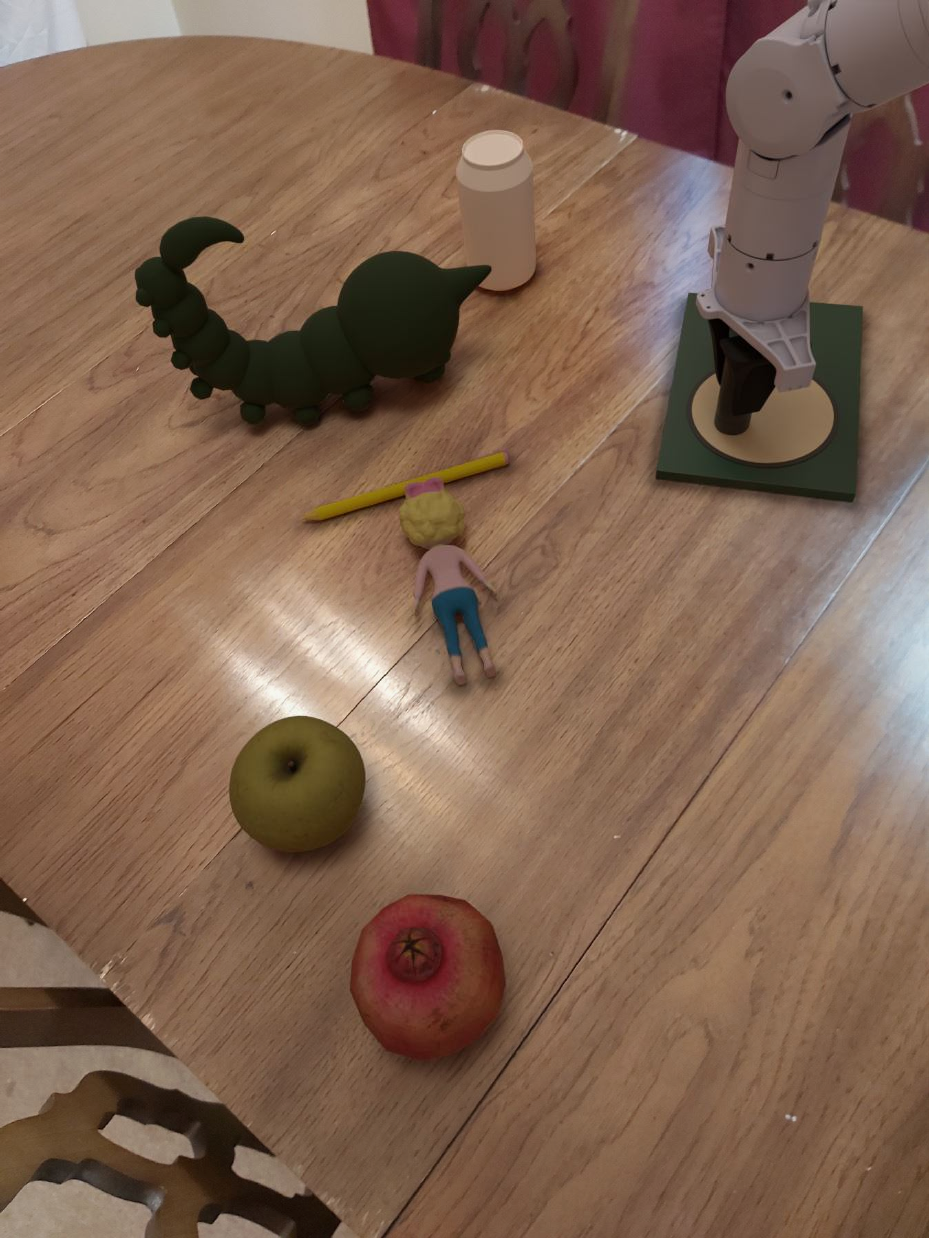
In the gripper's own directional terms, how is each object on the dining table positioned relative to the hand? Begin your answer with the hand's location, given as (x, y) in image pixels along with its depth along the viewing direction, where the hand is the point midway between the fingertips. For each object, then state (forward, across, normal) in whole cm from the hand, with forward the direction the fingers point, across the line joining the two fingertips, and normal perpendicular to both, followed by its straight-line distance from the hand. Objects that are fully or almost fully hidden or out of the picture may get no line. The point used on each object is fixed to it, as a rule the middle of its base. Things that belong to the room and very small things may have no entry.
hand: (738, 395), depth 68 cm
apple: (+4, +24, -34) cm, 42 cm away
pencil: (+4, 0, -25) cm, 26 cm away
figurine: (+4, +10, -23) cm, 26 cm away
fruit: (+4, +36, -28) cm, 46 cm away
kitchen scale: (+4, -3, +4) cm, 6 cm away
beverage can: (+4, -23, -13) cm, 27 cm away
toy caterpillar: (+4, -12, -28) cm, 31 cm away
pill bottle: (+3, 0, 0) cm, 3 cm away
